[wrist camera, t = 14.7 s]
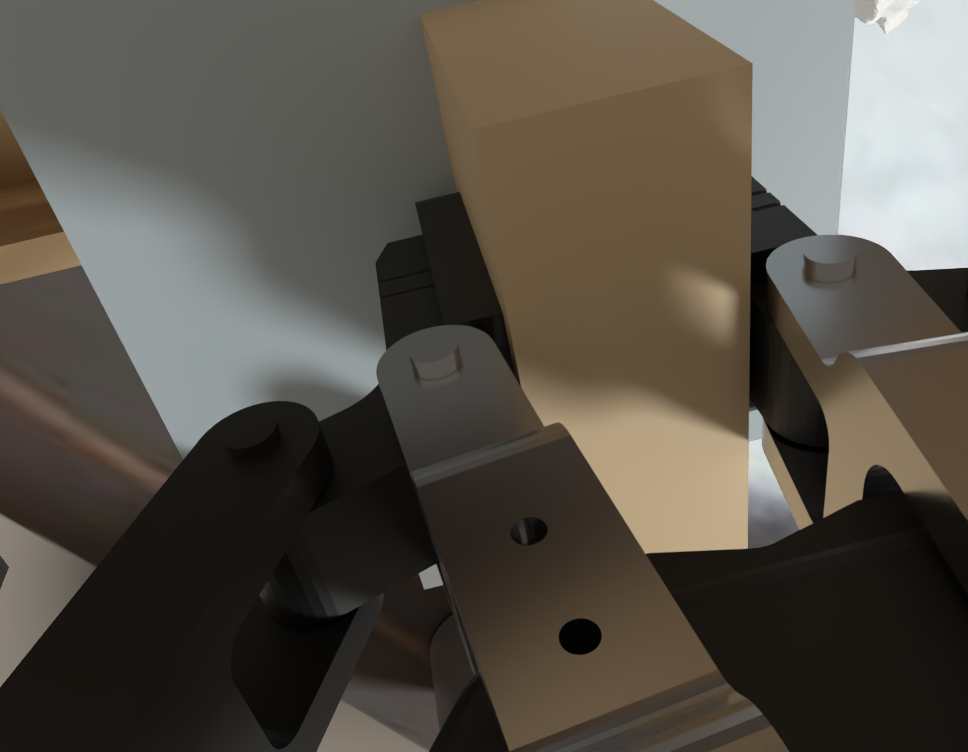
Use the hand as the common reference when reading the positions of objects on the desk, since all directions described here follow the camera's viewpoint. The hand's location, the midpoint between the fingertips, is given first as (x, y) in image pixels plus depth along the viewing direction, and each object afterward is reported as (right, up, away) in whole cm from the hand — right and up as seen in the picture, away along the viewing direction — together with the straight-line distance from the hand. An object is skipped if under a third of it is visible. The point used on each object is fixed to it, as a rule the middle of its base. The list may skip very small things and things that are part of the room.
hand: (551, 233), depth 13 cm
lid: (-1, +1, +1) cm, 2 cm away
